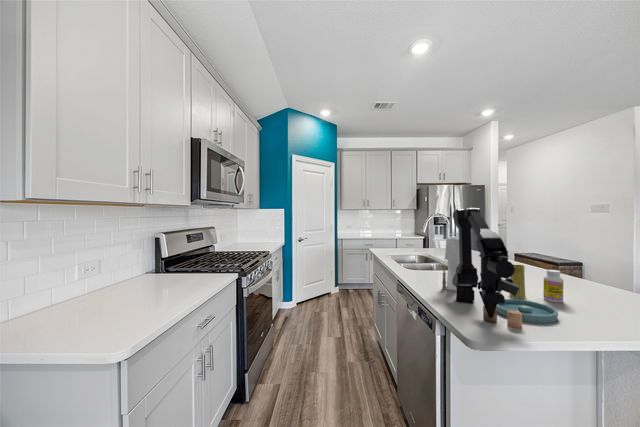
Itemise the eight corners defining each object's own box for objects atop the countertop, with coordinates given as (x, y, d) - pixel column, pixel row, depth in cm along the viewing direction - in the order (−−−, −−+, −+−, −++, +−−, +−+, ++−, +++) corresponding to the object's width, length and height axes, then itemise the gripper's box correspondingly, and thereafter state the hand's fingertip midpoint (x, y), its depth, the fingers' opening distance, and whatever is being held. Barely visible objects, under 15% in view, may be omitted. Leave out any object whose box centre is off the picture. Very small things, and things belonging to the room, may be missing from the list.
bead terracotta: (508, 327, 98) (508, 313, 98) (506, 322, 102) (506, 309, 102) (523, 329, 96) (523, 315, 96) (520, 324, 100) (520, 311, 100)
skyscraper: (448, 286, 151) (448, 232, 150) (465, 289, 145) (465, 233, 144) (441, 289, 145) (441, 233, 144) (458, 293, 139) (458, 234, 138)
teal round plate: (499, 318, 105) (499, 311, 105) (491, 302, 123) (491, 297, 123) (566, 326, 98) (566, 319, 98) (547, 308, 115) (547, 302, 115)
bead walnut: (483, 321, 102) (483, 308, 102) (482, 317, 106) (482, 304, 106) (497, 322, 101) (497, 309, 101) (496, 318, 105) (495, 306, 105)
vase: (528, 299, 127) (528, 266, 127) (512, 298, 128) (512, 266, 128) (521, 295, 133) (521, 264, 133) (506, 294, 134) (506, 263, 134)
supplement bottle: (546, 301, 124) (546, 271, 124) (541, 297, 130) (541, 268, 130) (566, 303, 121) (566, 272, 121) (559, 299, 127) (559, 269, 127)
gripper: (523, 279, 92) (523, 329, 92) (511, 268, 109) (511, 310, 109) (483, 276, 96) (483, 323, 96) (477, 266, 113) (477, 306, 113)
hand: (490, 315), depth 104 cm, fingers closed on bead walnut, 4 cm apart
